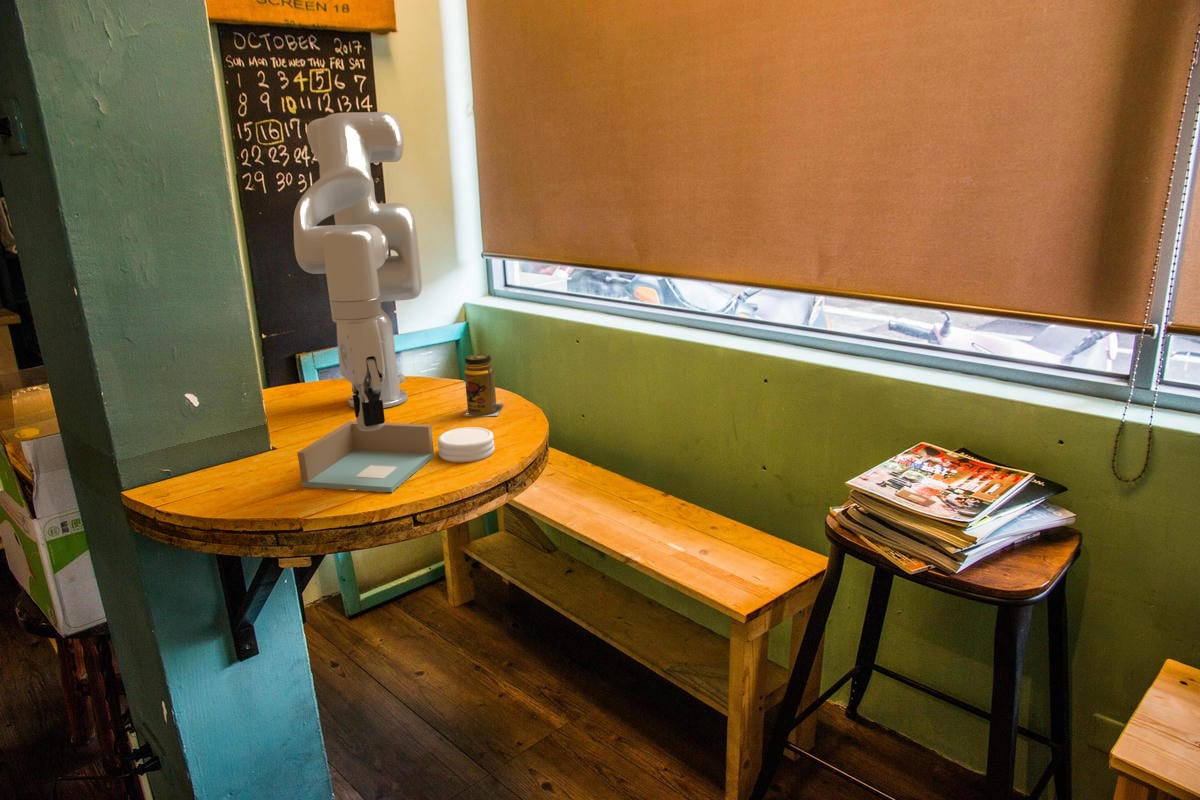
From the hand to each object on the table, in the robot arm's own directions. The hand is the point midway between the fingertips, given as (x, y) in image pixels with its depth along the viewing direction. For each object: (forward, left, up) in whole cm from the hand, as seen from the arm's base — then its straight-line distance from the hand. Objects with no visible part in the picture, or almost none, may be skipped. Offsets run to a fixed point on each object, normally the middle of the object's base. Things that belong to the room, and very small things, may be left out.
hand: (370, 419), depth 127 cm
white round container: (-14, +10, -11) cm, 20 cm away
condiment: (-38, +4, -11) cm, 39 cm away
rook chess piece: (0, 0, -2) cm, 2 cm away
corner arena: (-3, -3, -10) cm, 11 cm away
